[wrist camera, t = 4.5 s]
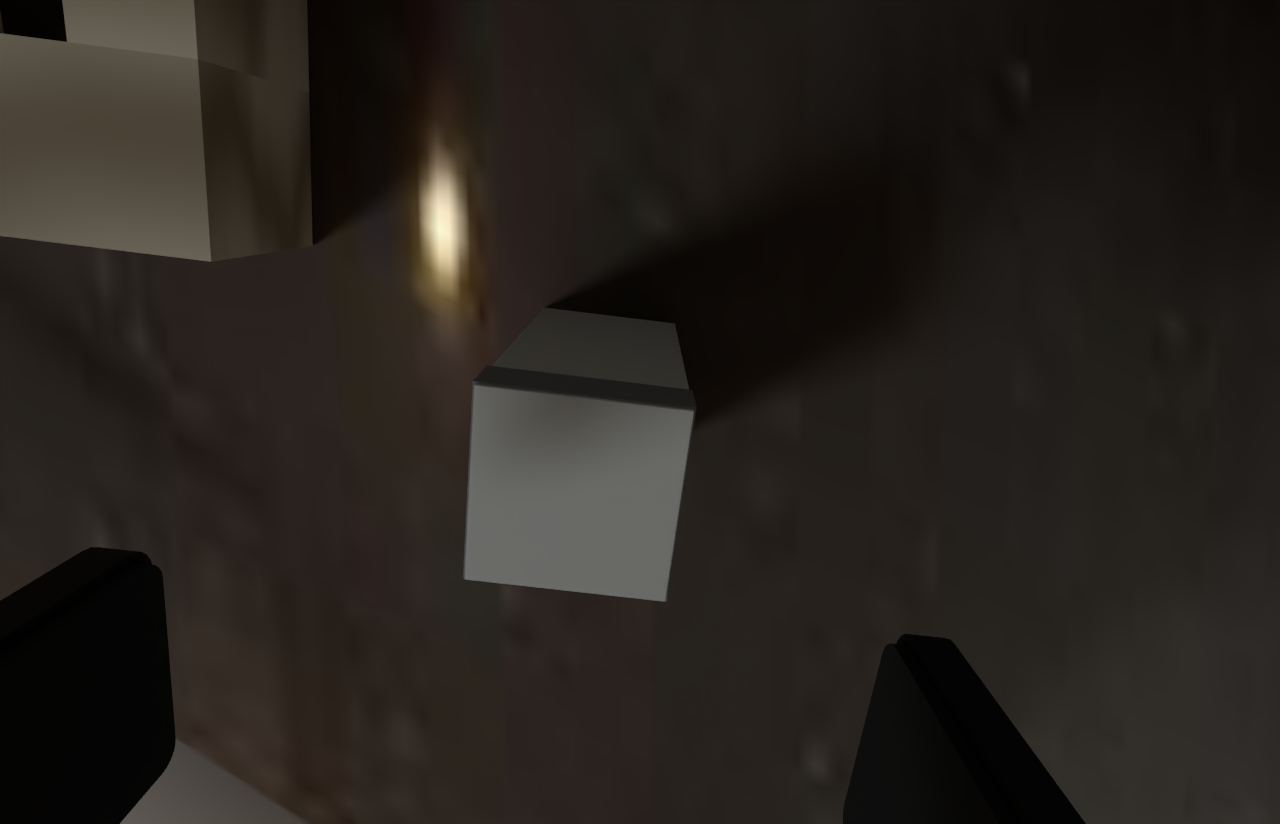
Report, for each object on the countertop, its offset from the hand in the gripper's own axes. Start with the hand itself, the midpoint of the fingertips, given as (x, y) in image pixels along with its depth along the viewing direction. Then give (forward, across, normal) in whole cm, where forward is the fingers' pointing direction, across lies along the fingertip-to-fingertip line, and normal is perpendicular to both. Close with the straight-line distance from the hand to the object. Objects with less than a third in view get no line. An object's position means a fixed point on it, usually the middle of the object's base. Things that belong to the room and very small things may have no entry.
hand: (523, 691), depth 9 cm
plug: (+14, 0, -1) cm, 14 cm away
